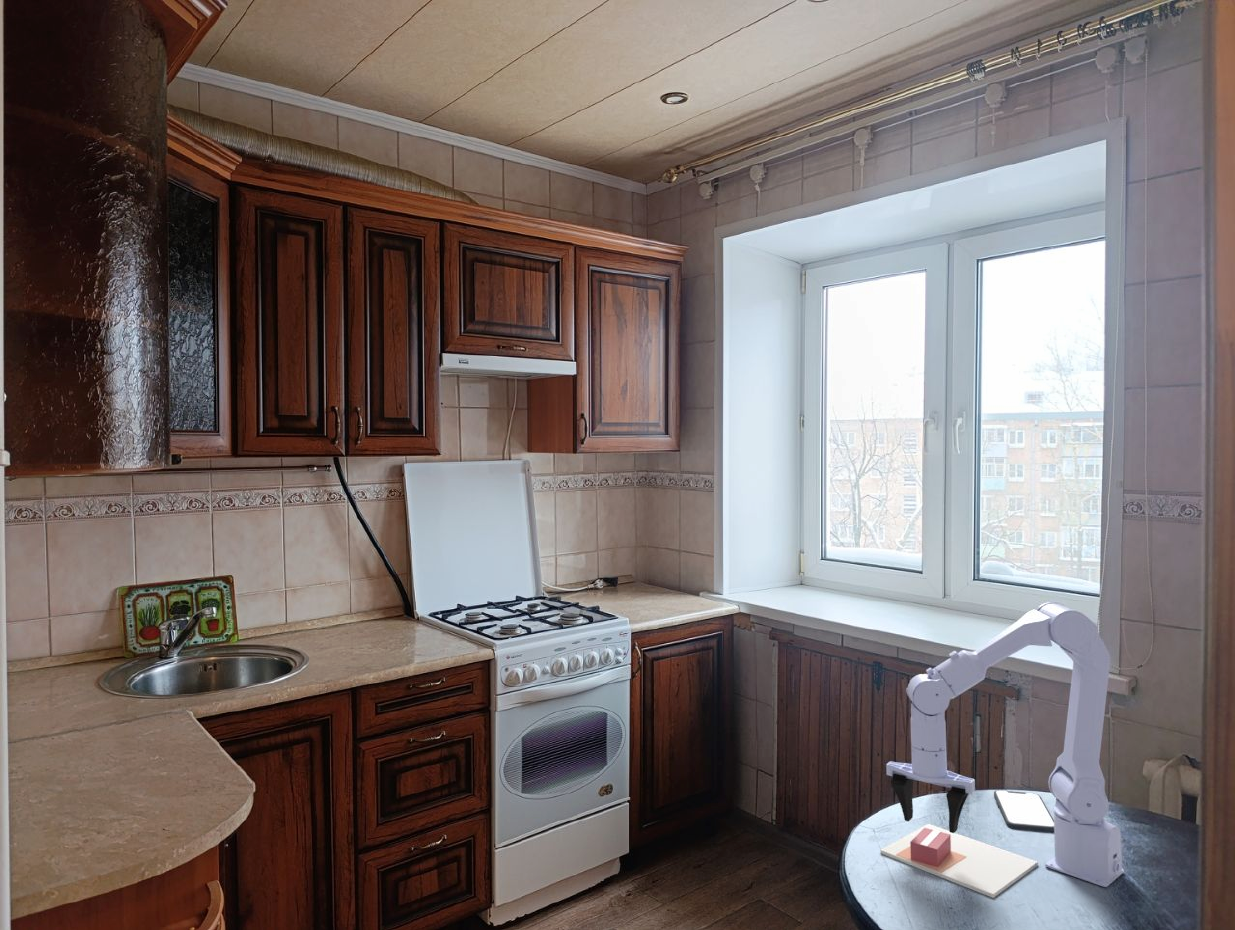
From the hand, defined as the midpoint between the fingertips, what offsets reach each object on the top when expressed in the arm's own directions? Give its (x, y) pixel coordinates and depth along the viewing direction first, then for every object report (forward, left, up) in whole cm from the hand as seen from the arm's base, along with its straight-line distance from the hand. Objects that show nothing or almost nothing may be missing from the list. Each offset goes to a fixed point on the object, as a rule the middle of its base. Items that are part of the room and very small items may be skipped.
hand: (930, 824), depth 140 cm
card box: (0, 0, -5) cm, 5 cm away
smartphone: (-2, -31, -7) cm, 32 cm away
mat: (-3, -3, -6) cm, 7 cm away
